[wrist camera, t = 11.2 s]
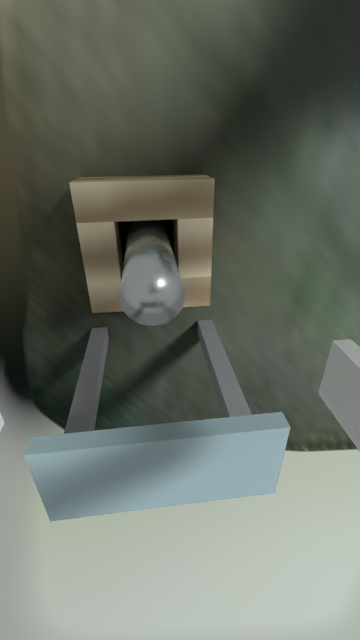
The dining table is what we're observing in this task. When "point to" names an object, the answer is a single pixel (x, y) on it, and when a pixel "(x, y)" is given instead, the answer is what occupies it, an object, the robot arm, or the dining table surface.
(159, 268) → the peg
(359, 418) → the robot arm
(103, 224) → the socket block
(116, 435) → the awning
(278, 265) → the dining table surface
